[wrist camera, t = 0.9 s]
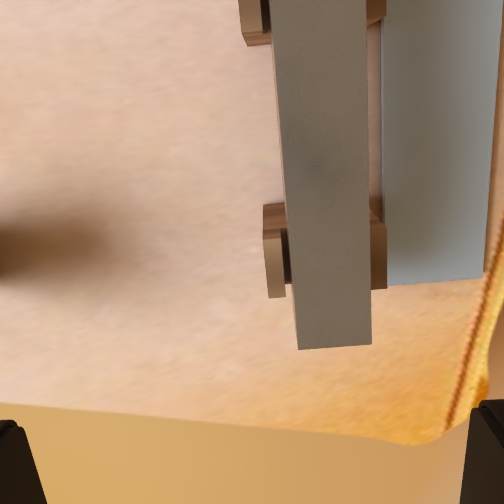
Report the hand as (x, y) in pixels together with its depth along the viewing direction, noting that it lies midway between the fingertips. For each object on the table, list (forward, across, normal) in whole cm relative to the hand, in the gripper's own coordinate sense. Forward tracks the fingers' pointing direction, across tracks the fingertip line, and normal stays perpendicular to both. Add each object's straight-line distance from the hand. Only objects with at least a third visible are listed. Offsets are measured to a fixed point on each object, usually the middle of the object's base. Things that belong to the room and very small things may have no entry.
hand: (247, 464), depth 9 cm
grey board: (+24, -12, -5) cm, 27 cm away
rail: (+18, -4, -5) cm, 19 cm away
